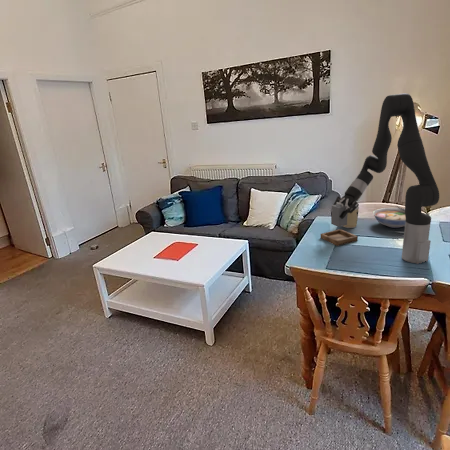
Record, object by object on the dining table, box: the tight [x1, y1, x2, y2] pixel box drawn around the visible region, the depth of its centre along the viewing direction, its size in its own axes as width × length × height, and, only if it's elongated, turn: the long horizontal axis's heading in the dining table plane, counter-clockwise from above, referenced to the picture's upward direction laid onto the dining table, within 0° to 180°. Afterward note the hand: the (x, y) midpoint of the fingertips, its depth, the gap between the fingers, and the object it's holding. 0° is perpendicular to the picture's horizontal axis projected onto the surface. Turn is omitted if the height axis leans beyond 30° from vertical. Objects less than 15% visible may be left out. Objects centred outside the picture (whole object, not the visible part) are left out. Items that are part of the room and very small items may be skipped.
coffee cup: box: [342, 205, 360, 229], centre depth 184 cm, size 9×9×12 cm
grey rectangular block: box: [330, 202, 348, 228], centre depth 164 cm, size 6×6×11 cm
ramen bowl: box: [372, 205, 406, 229], centre depth 179 cm, size 25×23×8 cm
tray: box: [320, 228, 359, 247], centre depth 168 cm, size 13×13×2 cm
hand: (336, 216), depth 164 cm, fingers closed on grey rectangular block, 5 cm apart
